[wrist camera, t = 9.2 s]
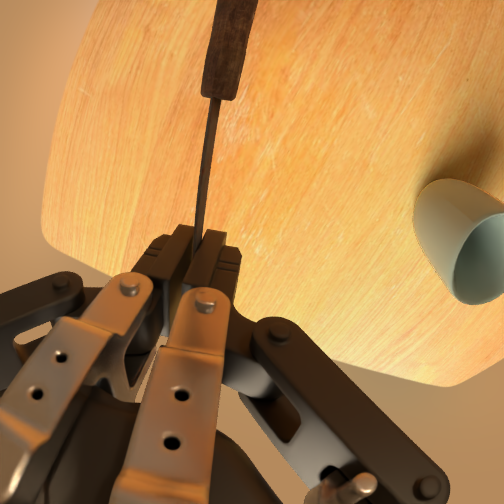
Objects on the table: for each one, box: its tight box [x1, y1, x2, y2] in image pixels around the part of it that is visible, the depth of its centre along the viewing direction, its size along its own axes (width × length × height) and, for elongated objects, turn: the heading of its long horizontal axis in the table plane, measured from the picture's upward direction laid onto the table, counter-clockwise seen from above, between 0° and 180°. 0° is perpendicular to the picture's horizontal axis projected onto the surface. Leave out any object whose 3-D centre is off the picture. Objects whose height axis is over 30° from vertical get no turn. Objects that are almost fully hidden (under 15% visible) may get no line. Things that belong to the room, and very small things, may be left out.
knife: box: [192, 0, 258, 260], centre depth 8 cm, size 16×1×2 cm, turn 170°
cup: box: [413, 178, 504, 305], centre depth 21 cm, size 8×8×10 cm
